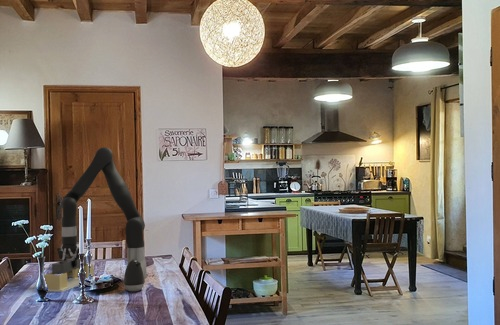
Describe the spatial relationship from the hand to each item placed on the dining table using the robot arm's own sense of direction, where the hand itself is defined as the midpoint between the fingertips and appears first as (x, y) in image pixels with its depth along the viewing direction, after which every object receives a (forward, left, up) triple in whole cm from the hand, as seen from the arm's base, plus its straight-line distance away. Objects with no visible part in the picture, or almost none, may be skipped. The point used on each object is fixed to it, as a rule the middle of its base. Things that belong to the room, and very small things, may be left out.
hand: (69, 267), depth 255 cm
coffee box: (+11, -18, -9) cm, 23 cm away
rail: (0, 0, -1) cm, 1 cm away
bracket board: (0, 0, -9) cm, 9 cm away
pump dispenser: (-41, +6, -9) cm, 42 cm away
